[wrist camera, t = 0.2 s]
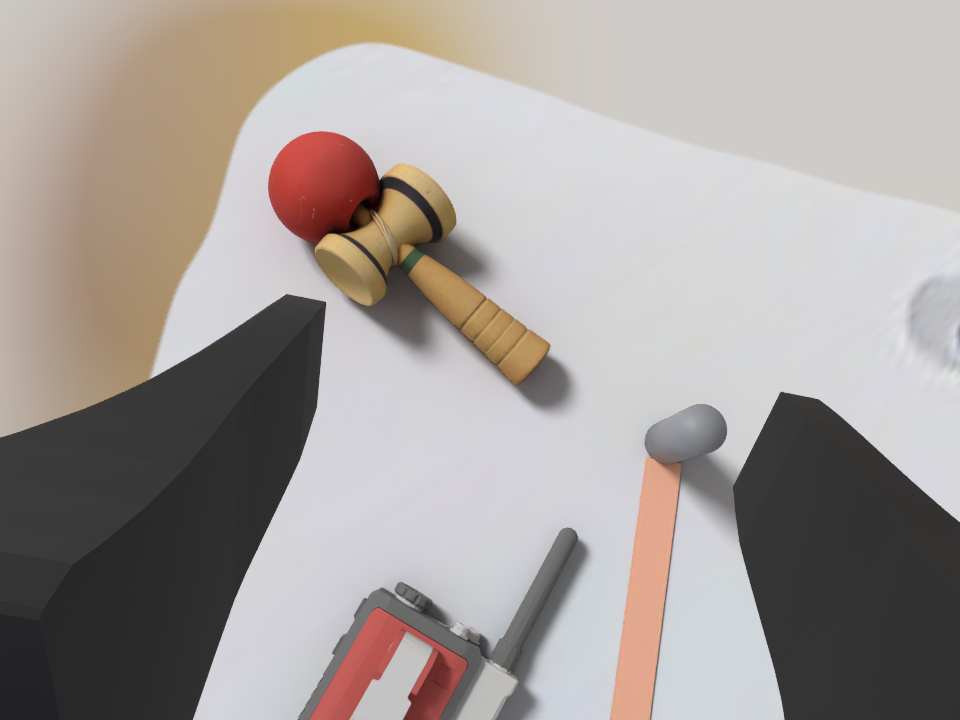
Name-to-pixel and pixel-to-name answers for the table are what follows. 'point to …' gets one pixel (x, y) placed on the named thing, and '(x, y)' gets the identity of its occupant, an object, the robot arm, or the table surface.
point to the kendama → (388, 239)
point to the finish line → (657, 551)
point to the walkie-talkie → (426, 657)
